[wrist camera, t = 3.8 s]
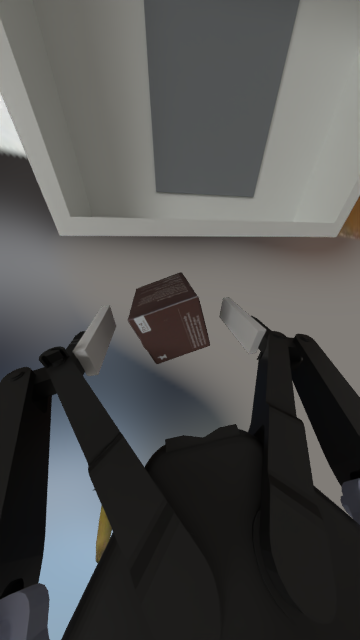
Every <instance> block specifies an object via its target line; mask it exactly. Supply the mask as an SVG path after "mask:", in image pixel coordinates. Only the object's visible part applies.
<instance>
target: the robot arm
mask: <svg viewBox="0 0 360 640" xmlns="http://www.w3.org/2000/svg"><path fill="white" fill-rule="evenodd" d="M220 318H221V319H222V321H223V322H224V323H225V325H226V326H227V327H228V328H229V330H230V331H231V332H232V333H233V335H234V336H235V337H236V339H237V340H238V341H239V342H240V344H241V345H242V346H243V348H244V349H245V350H246V351H247V353H248V354H253V353H256V352H257V349H259V350H260V351H261V352H260V354H259V356H258V358H257V360H258V359H259V362H258V370H257V379H256V386H255V395H254V402H253V411H252V419H251V425H250V428H249V431H248V432H246V431H243V430H240V429H238V428H237V425H236V424H234V425H229V426H225V427H220V428H218V429H217V430H215V431H213V432H212V433H210V434H209V435H207V436H206V437H203V438H202V437H193V436H184V435H183V436H179V437H174V438H170V439H166V440H165V442H166V444H165V445H164V446H162V447H161V448H159V449H158V450H157V451H156V452H155V453H154V454H153V455H152V457H151V458H150V459H149V461H148V462H147V464H146V466H145V468H144V466H143V465H142V463H141V462H140V460H139V459H138V457H137V456H136V454H135V453H134V451H133V450H132V448H131V447H130V445H129V444H128V443H127V441H126V439H125V438H124V436H123V435H122V434H121V432H120V431H119V429H118V428H117V426H116V425H115V423H114V422H113V420H112V419H111V417H110V416H109V414H108V413H107V411H106V410H105V408H104V407H103V406H102V404H101V402H100V401H99V399H98V398H97V396H96V395H95V393H94V392H93V390H92V389H91V387H90V386H89V384H88V383H87V382H86V380H85V379H84V377H83V374H84V372H85V373H86V374H87V376H92V375H98V374H99V371H100V368H101V366H102V363H103V360H104V358H105V355H106V352H107V349H108V347H109V344H110V341H111V338H112V336H113V333H114V331H115V328H116V324H115V321H114V318H113V315H112V311H111V308H110V306H102V307H101V309H100V310H99V312H98V314H97V315H96V316H95V318H94V319H93V321H92V322H91V324H90V325H89V327H88V328H87V330H86V331H82V332H80V333H79V334H77V335H76V336H75V337H74V339H73V341H72V342H71V343H70V344H69V346H68V347H67V349H66V350H65V348H63V347H54V348H51V349H49V350H47V351H45V352H44V353H42V354H41V355H40V357H39V361H40V362H41V363H42V364H43V365H44V368H40V369H38V370H34V371H32V370H31V369H30V368H29V367H23V368H19V369H16V370H14V371H12V372H11V373H9V374H7V375H6V376H5V377H4V378H3V379H2V380H1V382H0V640H50V639H49V635H48V628H47V624H48V611H49V594H48V590H47V588H46V587H45V585H43V584H40V583H38V582H39V576H40V570H41V565H42V559H43V551H44V541H45V527H46V505H47V486H48V485H47V484H48V465H49V443H50V423H51V402H52V395H54V394H56V393H57V394H58V397H59V399H60V401H61V403H62V406H63V408H64V410H65V412H66V415H67V417H68V419H69V421H70V424H71V426H72V428H73V430H74V433H75V435H76V437H77V440H78V442H79V444H80V446H81V449H82V451H83V453H84V455H85V457H86V460H87V462H88V466H89V467H88V472H89V476H90V478H91V481H92V483H93V485H94V488H95V490H96V492H97V495H98V497H99V499H100V502H101V504H102V507H103V509H104V511H105V514H106V516H107V518H108V521H109V523H110V525H111V528H112V530H113V533H112V535H111V537H110V540H109V542H108V544H107V546H106V548H105V550H104V552H103V554H102V556H101V558H100V560H99V562H98V565H97V566H96V569H95V571H94V573H93V575H92V577H91V579H90V581H89V583H88V585H87V587H86V589H85V591H84V593H83V595H82V598H81V599H80V602H79V604H78V606H77V608H76V610H75V612H74V614H73V616H72V618H71V620H70V622H69V624H68V626H67V628H66V630H65V633H64V635H63V637H62V639H61V640H360V397H359V396H358V395H357V394H356V392H355V391H354V390H353V388H352V387H351V386H350V385H349V383H348V382H347V381H346V380H345V378H344V377H343V376H342V375H341V373H340V372H339V371H338V369H337V368H336V367H335V366H334V364H333V363H332V362H331V361H330V359H329V358H328V357H327V356H326V354H325V353H324V352H323V350H322V349H321V348H320V347H319V345H318V344H317V343H316V342H315V341H314V340H313V338H311V337H309V336H307V335H304V334H296V336H295V337H294V338H288V337H286V336H285V335H284V334H282V333H280V332H276V331H271V330H270V329H269V328H268V327H266V326H265V325H264V324H263V323H262V322H260V321H259V320H258V319H257V318H255V317H253V316H250V315H249V314H247V313H246V312H245V311H244V310H243V309H242V308H241V307H239V306H238V305H237V304H236V303H235V302H234V301H232V300H231V299H230V298H229V297H228V298H223V302H222V307H221V312H220ZM292 381H293V383H294V385H295V387H296V390H297V392H298V395H299V397H300V399H301V401H302V404H303V406H304V408H305V411H306V413H307V415H308V418H309V420H310V422H311V425H312V427H313V429H314V432H315V434H316V436H317V439H318V441H319V443H320V445H321V448H322V450H323V453H324V455H325V457H326V459H327V461H328V463H329V465H330V467H331V469H332V471H333V473H334V475H335V476H336V478H337V480H338V482H339V483H340V485H341V487H342V493H343V496H341V503H342V506H343V507H344V509H345V510H346V512H347V513H348V514H349V515H350V516H351V517H352V518H353V519H352V518H351V517H350V516H349V515H348V514H346V513H345V512H344V511H343V510H342V509H341V508H339V507H338V506H337V505H336V504H335V503H334V502H332V501H331V500H330V499H329V498H328V497H326V496H325V495H324V494H323V493H322V492H321V491H319V490H318V489H317V488H316V487H315V486H314V485H313V480H312V473H311V467H310V460H309V454H308V447H307V440H306V434H305V427H304V424H303V422H302V420H300V419H298V418H297V417H296V409H295V401H294V393H293V384H292Z"/></svg>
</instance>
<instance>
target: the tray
mask: <svg viewBox="0 0 360 640" xmlns="http://www.w3.org/2000/svg"><path fill="white" fill-rule="evenodd" d="M0 92H1V94H2V97H3V99H4V102H5V104H6V107H7V109H8V111H9V114H10V116H11V119H12V121H13V124H14V126H15V128H16V131H17V133H18V136H19V138H20V140H21V143H22V145H23V148H24V150H25V153H26V155H27V157H28V160H29V162H30V165H31V167H32V170H33V172H34V174H35V177H36V179H37V182H38V184H39V186H40V189H41V191H42V194H43V196H44V199H45V201H46V203H47V206H48V208H49V211H50V213H51V216H52V218H53V220H54V223H55V225H56V227H57V230H58V232H59V235H60V236H217V237H226V236H227V237H229V236H230V237H232V236H233V237H337V235H338V233H339V231H340V230H341V228H342V226H343V224H344V223H345V221H346V219H347V217H348V215H349V214H350V212H351V210H352V208H353V207H354V205H355V203H356V201H357V199H358V198H359V196H360V0H0Z"/></svg>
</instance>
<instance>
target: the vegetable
mask: <svg viewBox="0 0 360 640" xmlns="http://www.w3.org/2000/svg"><path fill="white" fill-rule="evenodd" d="M111 531H112V528H111V525H110V523H109V521H108V518H107V516H106V514H105V511H104V509H103V507H101V513H100V519H99V528H98V534H97V541H96V562H97V563H98V562H99V560H100V558H101V556H102V554H103V552H104V550H105V548H106V546H107V544H108V542H109V540H110V536H111Z"/></svg>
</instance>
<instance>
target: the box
mask: <svg viewBox="0 0 360 640" xmlns="http://www.w3.org/2000/svg"><path fill="white" fill-rule="evenodd" d="M128 323H129V324H130V325H131V327H132V329H133V330H134V331H135V333H136V334H137V336H138V337H139V339H140V340H141V342H142V344H143V347H144V348H145V349H146V350H147V351H148V352H149V354H150V355H151V357H152V358H153V360H154V361H155V363H156V364H159V363H162V362H165V361H168V360H170V359H173V358H176V357H179V356H181V355H184V354H187V353H190V352H193V351H196V350H199V349H202V348H204V347H207V346H210V342H209V338H208V333H207V329H206V325H205V321H204V317H203V313H202V309H201V305H200V301H199V298H198V296H197V295H196V293H195V292H194V290H193V289H192V287H191V286H190V284H189V283H188V281H187V280H186V278H185V277H184V275H183V274H182V273H177V274H175V275H172V276H169V277H167V278H164V279H162V280H159V281H156V282H153V283H151V284H148V285H145V286H142V287H140V288H138V289H136V293H135V296H134V299H133V303H132V307H131V310H130V315H129V318H128Z"/></svg>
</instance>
